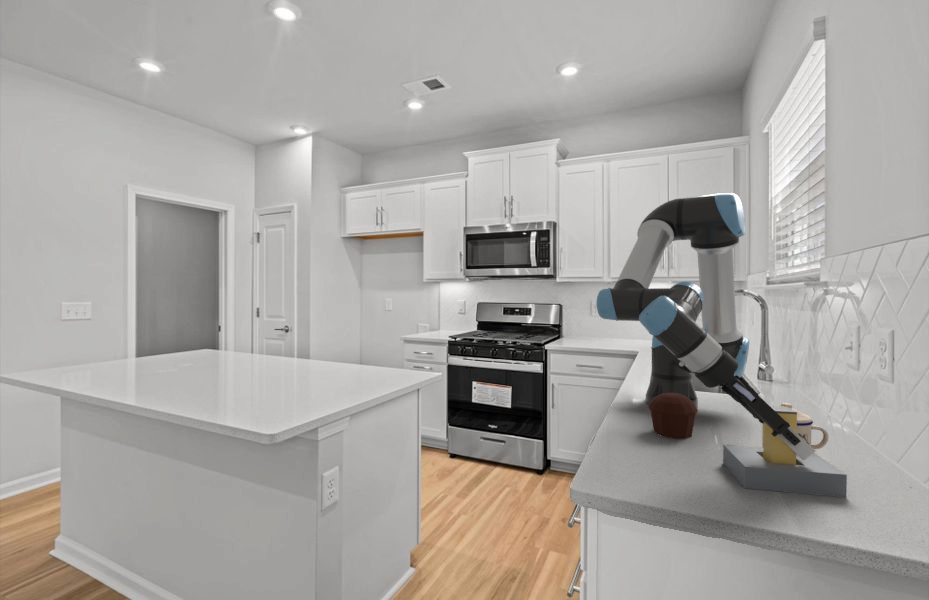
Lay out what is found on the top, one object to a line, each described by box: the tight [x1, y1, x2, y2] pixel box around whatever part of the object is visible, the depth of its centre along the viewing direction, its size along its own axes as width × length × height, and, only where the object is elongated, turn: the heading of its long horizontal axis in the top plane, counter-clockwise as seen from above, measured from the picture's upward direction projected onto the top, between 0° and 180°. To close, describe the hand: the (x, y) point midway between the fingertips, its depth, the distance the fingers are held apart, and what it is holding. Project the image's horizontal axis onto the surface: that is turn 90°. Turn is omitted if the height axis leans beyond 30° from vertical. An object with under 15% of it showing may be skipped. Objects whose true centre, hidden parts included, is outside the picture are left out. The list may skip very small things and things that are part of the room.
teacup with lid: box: [761, 402, 829, 450], centre depth 97 cm, size 12×9×12 cm
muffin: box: [647, 393, 699, 440], centre depth 114 cm, size 12×11×10 cm
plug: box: [762, 405, 797, 465], centre depth 86 cm, size 4×4×11 cm
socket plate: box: [722, 444, 848, 498], centre depth 86 cm, size 12×16×4 cm
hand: (802, 450), depth 85 cm, fingers closed on plug, 4 cm apart
